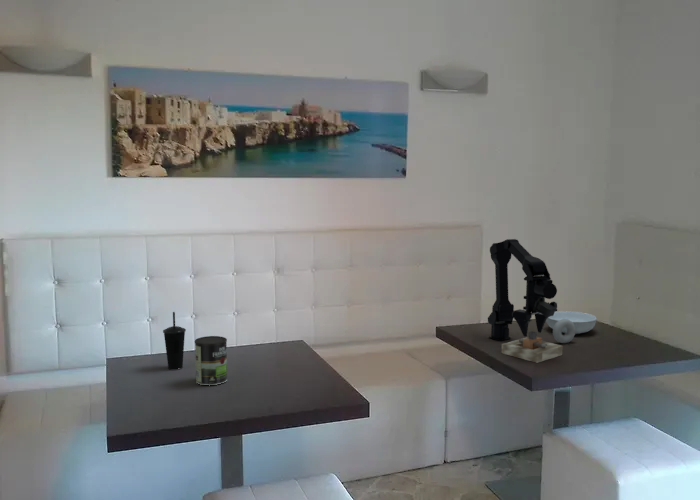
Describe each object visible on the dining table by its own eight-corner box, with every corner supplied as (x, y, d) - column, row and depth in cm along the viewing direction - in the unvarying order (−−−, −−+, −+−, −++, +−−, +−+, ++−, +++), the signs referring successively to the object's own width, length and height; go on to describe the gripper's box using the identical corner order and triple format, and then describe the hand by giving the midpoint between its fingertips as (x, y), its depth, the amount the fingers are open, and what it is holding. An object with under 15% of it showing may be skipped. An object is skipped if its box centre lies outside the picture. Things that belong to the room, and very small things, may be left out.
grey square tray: (501, 353, 251) (501, 340, 251) (526, 345, 261) (527, 333, 261) (537, 362, 239) (537, 349, 238) (562, 354, 249) (562, 341, 249)
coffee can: (234, 379, 219) (233, 338, 218) (212, 388, 211) (211, 345, 209) (211, 374, 225) (210, 334, 223) (189, 382, 216) (187, 340, 214)
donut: (571, 341, 269) (572, 317, 267) (576, 343, 265) (577, 319, 264) (550, 343, 266) (551, 318, 264) (555, 345, 262) (556, 320, 261)
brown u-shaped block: (522, 351, 249) (523, 333, 248) (534, 347, 253) (535, 329, 253) (529, 352, 246) (530, 334, 246) (541, 349, 251) (541, 331, 250)
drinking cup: (190, 365, 234) (189, 310, 232) (178, 372, 227) (176, 315, 225) (172, 363, 237) (170, 309, 234) (159, 369, 230) (157, 313, 227)
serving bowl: (560, 323, 299) (561, 308, 298) (604, 332, 284) (605, 316, 283) (535, 331, 285) (535, 315, 284) (580, 340, 270) (581, 324, 269)
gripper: (537, 300, 235) (536, 343, 237) (567, 294, 247) (565, 334, 249) (511, 295, 244) (510, 336, 246) (541, 289, 255) (539, 329, 257)
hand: (532, 334), depth 249 cm, fingers open, 9 cm apart
